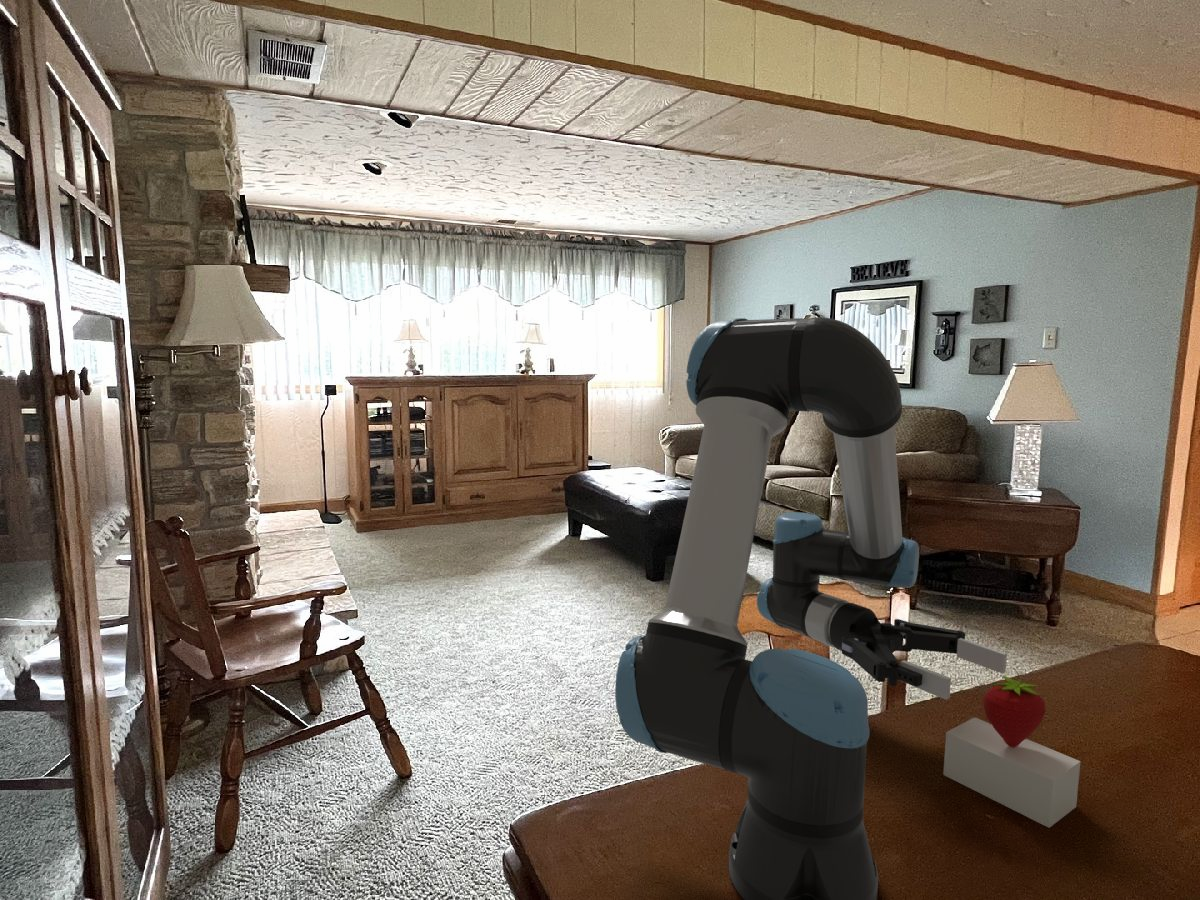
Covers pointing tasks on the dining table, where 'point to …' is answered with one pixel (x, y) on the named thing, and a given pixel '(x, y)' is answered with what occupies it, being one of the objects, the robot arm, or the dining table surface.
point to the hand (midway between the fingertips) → (978, 675)
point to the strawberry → (1014, 710)
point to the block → (1012, 771)
